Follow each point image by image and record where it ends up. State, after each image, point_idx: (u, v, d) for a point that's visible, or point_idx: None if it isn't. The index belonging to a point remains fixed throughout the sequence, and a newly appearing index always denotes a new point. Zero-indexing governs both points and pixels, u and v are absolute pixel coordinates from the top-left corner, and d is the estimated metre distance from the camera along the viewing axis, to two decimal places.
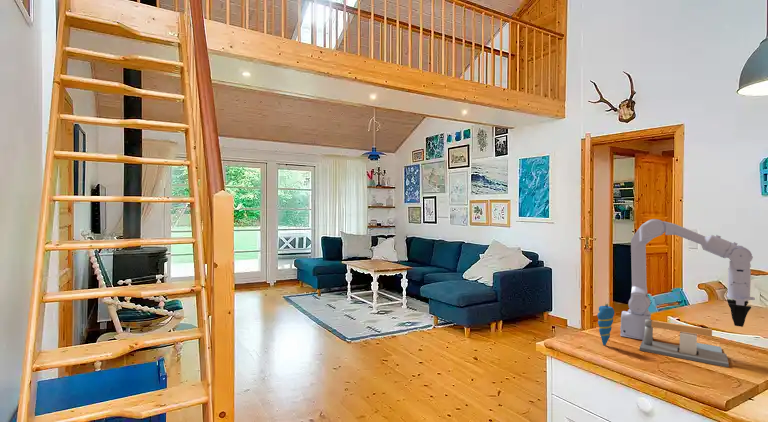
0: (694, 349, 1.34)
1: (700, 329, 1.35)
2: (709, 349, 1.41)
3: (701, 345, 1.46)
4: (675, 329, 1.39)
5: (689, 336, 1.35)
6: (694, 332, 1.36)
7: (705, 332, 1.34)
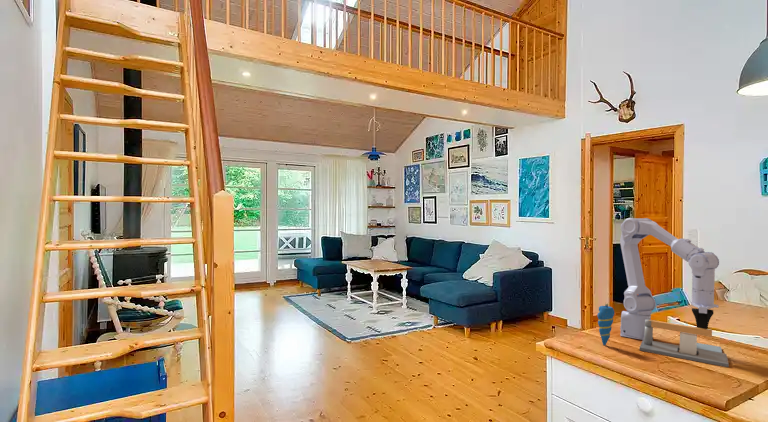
0: (694, 349, 1.34)
1: (700, 329, 1.34)
2: (709, 349, 1.41)
3: (701, 345, 1.46)
4: (675, 329, 1.38)
5: (689, 336, 1.35)
6: (694, 332, 1.35)
7: (705, 332, 1.33)
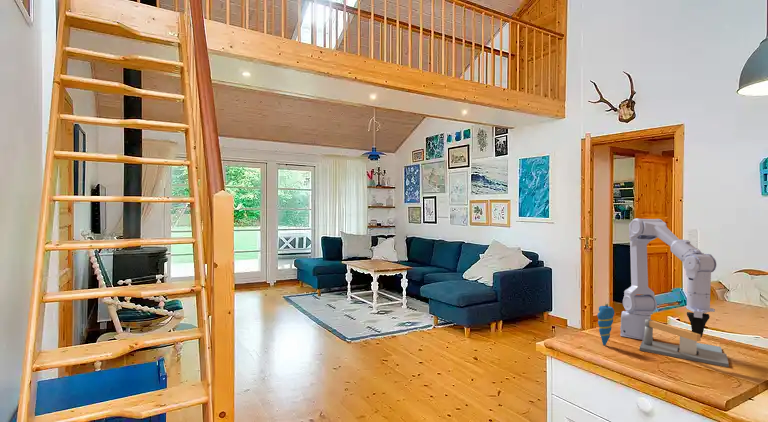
0: (694, 349, 1.34)
1: (687, 333, 1.30)
2: (709, 349, 1.41)
3: (701, 345, 1.46)
4: (667, 331, 1.36)
5: None
6: (682, 335, 1.31)
7: (691, 336, 1.29)
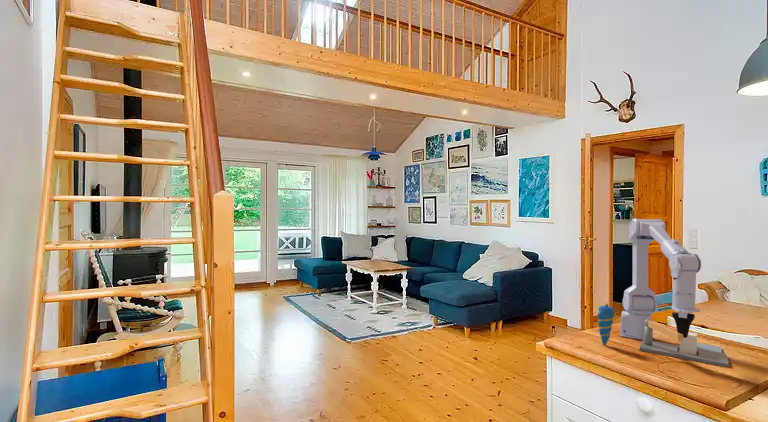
0: (694, 349, 1.34)
1: (671, 332, 1.30)
2: (709, 349, 1.41)
3: (701, 345, 1.46)
4: (659, 330, 1.36)
5: (689, 336, 1.35)
6: (668, 335, 1.31)
7: (674, 336, 1.28)
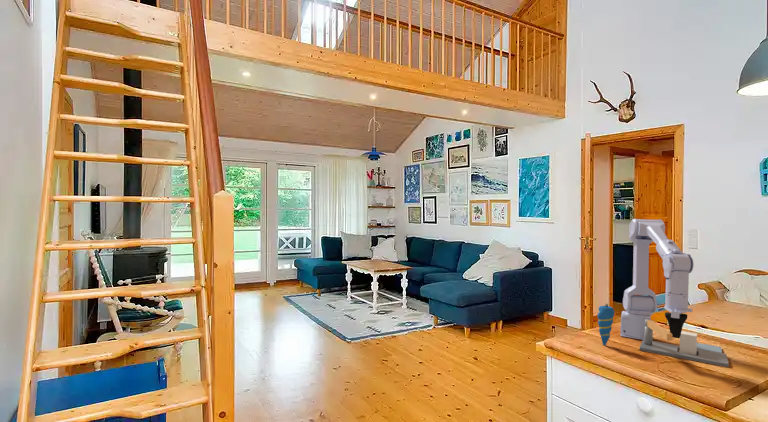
0: (694, 349, 1.34)
1: (663, 332, 1.30)
2: (709, 349, 1.41)
3: (701, 345, 1.46)
4: (654, 330, 1.37)
5: (689, 336, 1.35)
6: (661, 334, 1.32)
7: (664, 335, 1.29)
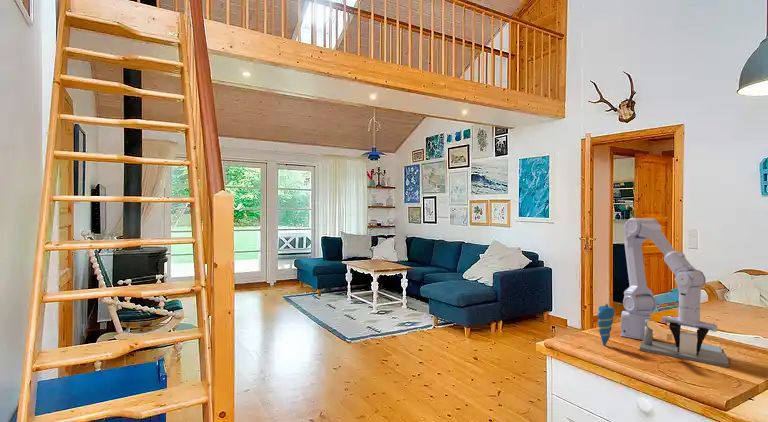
0: (694, 349, 1.34)
1: (662, 332, 1.30)
2: (709, 349, 1.41)
3: (701, 345, 1.46)
4: (654, 330, 1.37)
5: (689, 336, 1.35)
6: (660, 334, 1.32)
7: (664, 335, 1.29)
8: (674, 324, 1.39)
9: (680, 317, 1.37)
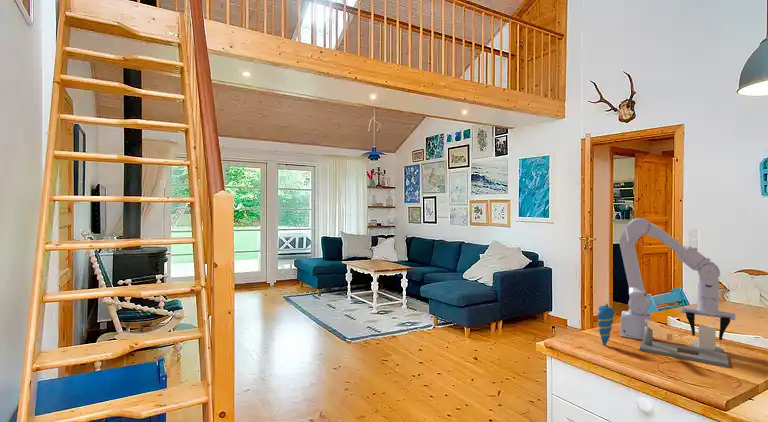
0: (713, 342, 1.41)
1: (662, 332, 1.30)
2: (709, 349, 1.41)
3: None
4: (654, 330, 1.37)
5: (708, 329, 1.42)
6: (660, 334, 1.32)
7: (664, 335, 1.29)
8: (693, 314, 1.45)
9: (700, 307, 1.43)
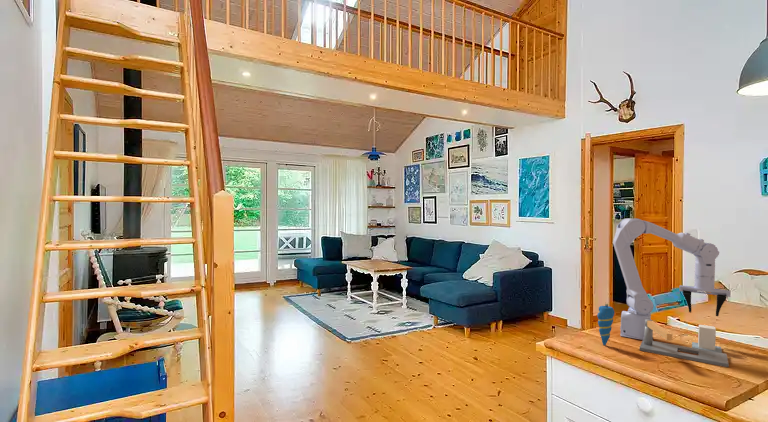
0: (713, 342, 1.41)
1: (662, 332, 1.30)
2: (709, 349, 1.41)
3: None
4: (654, 330, 1.37)
5: (708, 329, 1.42)
6: (660, 334, 1.32)
7: (664, 335, 1.29)
8: None
9: (697, 285, 1.50)
